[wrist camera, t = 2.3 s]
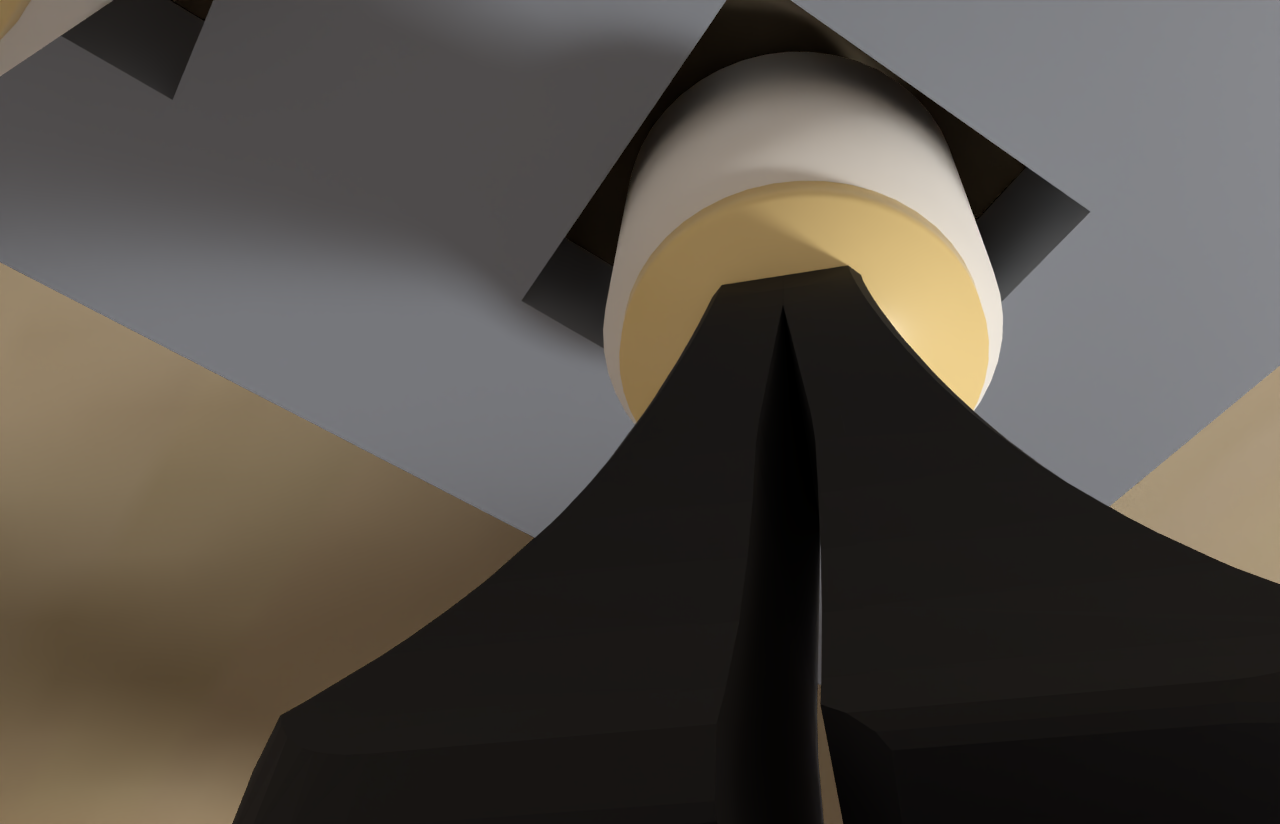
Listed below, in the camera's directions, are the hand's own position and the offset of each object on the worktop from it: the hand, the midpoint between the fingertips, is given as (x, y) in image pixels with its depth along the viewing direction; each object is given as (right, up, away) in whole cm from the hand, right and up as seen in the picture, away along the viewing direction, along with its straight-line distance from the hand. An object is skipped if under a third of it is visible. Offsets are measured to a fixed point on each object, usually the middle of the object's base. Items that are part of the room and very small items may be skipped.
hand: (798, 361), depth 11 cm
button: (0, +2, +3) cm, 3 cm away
